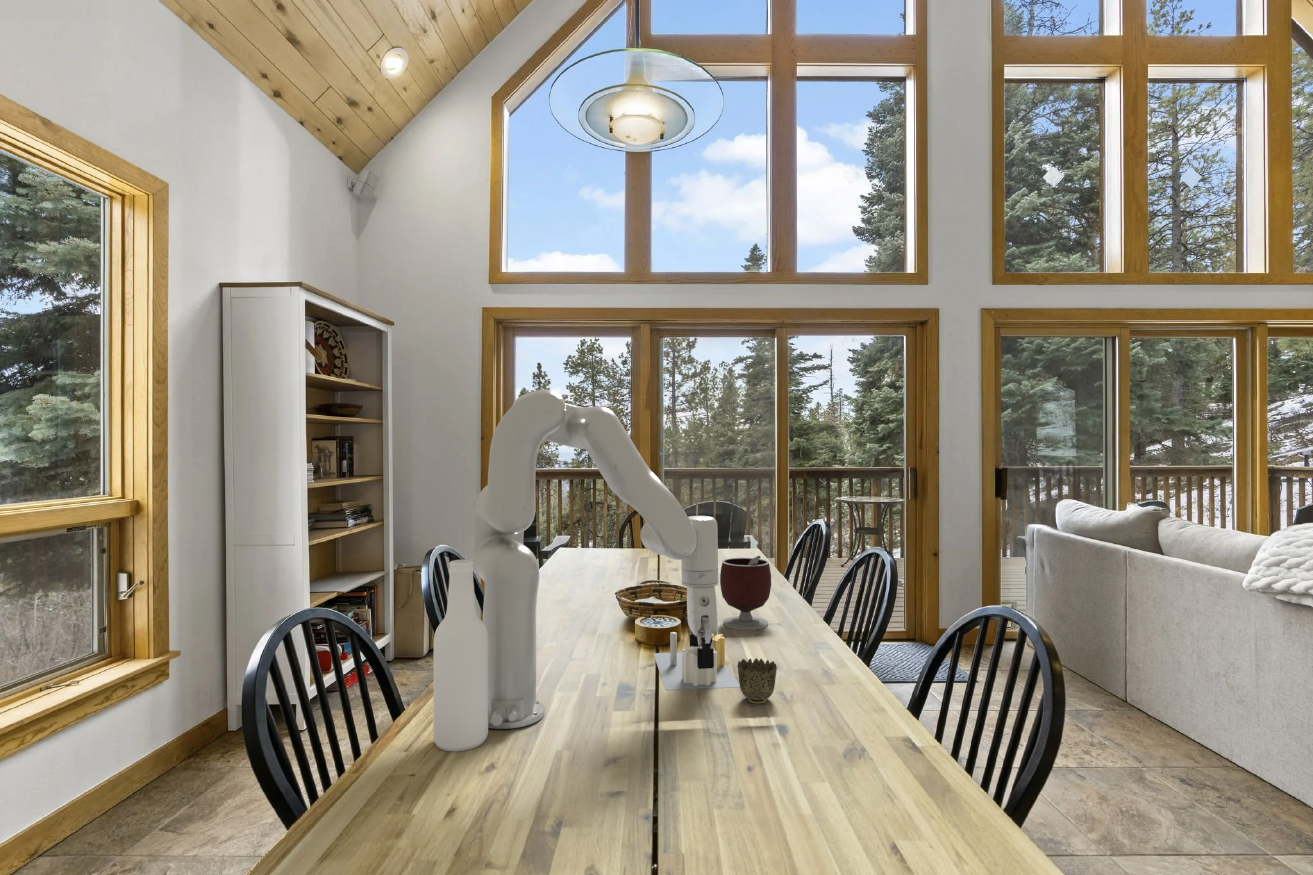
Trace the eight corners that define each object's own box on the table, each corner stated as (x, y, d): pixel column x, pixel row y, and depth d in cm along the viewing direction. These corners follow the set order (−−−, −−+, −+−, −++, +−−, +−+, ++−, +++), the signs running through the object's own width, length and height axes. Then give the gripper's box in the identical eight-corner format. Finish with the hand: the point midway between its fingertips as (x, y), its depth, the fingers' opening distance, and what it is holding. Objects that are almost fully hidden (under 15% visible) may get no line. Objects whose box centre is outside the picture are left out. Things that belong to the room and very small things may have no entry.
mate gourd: (712, 619, 197) (712, 548, 197) (757, 616, 201) (757, 546, 202) (734, 634, 182) (734, 557, 183) (783, 630, 187) (783, 554, 187)
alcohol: (431, 734, 120) (432, 558, 120) (484, 727, 123) (485, 555, 123) (434, 756, 112) (435, 567, 112) (491, 747, 115) (491, 563, 115)
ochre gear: (727, 668, 151) (727, 640, 151) (695, 669, 151) (695, 641, 151) (720, 658, 158) (720, 631, 158) (690, 659, 157) (690, 632, 157)
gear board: (740, 693, 140) (740, 651, 140) (665, 696, 138) (665, 654, 138) (717, 656, 164) (717, 621, 164) (653, 658, 162) (653, 622, 162)
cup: (776, 715, 129) (776, 671, 129) (735, 711, 130) (735, 668, 130) (777, 700, 136) (777, 658, 136) (739, 697, 137) (739, 656, 137)
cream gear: (719, 685, 141) (718, 655, 141) (685, 686, 140) (685, 656, 140) (712, 673, 148) (712, 645, 148) (680, 674, 147) (680, 646, 147)
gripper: (726, 584, 136) (728, 673, 136) (710, 568, 153) (711, 646, 153) (688, 586, 135) (689, 675, 135) (676, 569, 152) (677, 648, 152)
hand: (701, 660), depth 144 cm, fingers open, 9 cm apart
